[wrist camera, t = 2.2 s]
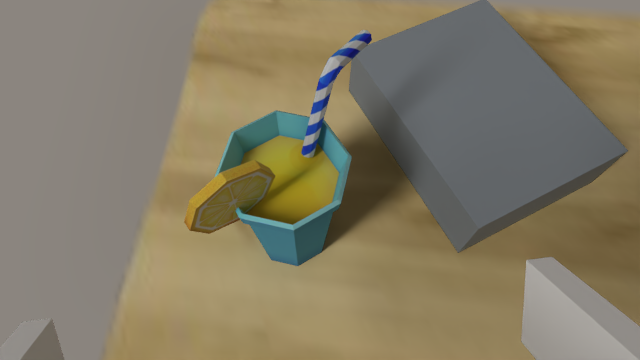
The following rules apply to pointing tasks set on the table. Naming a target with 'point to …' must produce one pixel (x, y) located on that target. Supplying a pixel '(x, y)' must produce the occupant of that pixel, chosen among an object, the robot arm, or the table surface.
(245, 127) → the cup
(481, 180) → the slate block
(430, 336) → the table surface
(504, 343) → the table surface
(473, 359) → the table surface
